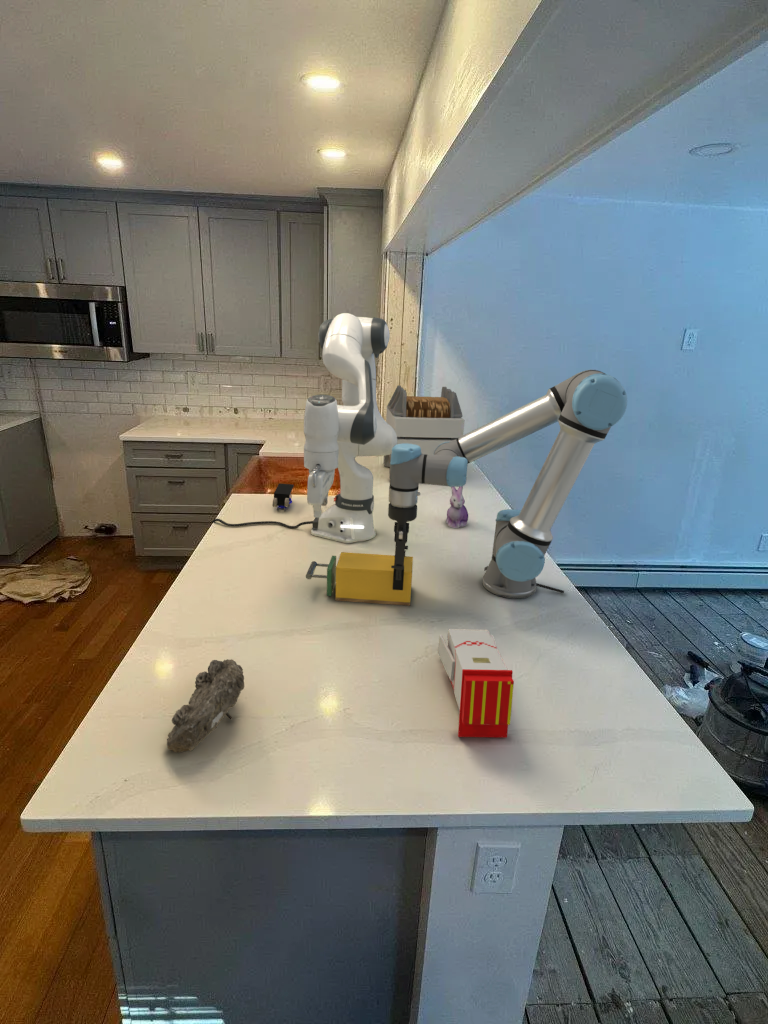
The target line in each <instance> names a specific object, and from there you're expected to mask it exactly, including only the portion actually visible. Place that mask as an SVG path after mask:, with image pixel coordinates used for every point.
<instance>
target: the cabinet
mask: <svg viewBox="0 0 768 1024" xmlns="http://www.w3.org/2000/svg"><path fill="white" fill-rule="evenodd" d="M413 560H414V557H413V556H410V555H409V556H408V555H407V556H406V555H405V556H404V579H403V590H393V573H394V568H391V566H394V562H395V554H394V555H392V554H378V553H361V552H347V551H346V552H345V551H341V552H340V554H339V558H338V561H337V562H336V583H335V601H338V602H350V603H366V604H380V605H381V604H382V605H394V606H408V607H409V606H411V596H412V583H413V582H412V580H413V566H414V565H413V563H414V561H413Z"/></svg>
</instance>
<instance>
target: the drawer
mask: <svg viewBox="0 0 768 1024" xmlns="http://www.w3.org/2000/svg"><path fill="white" fill-rule="evenodd" d="M336 566H337V555H331V557H330V560H329V563H318V562H317V561H316V560H312V562H311V563H310V564H309V567H308V569H307V571H306V574H305V578H306V579H307V580H311V579H312V578H313V579H314V578H315V579H326V596H329V597H331V596H332V595H333V592H334V589H335V587H336ZM317 567H322V568H323V567H325V568H326V574H325V575H324V574H314V573H315V571H316V569H317Z"/></svg>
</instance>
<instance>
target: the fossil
mask: <svg viewBox="0 0 768 1024" xmlns="http://www.w3.org/2000/svg"><path fill="white" fill-rule="evenodd" d="M243 670H244V669H243V667H242V665H240V664H237V662H236V661H235V660H234V659H232V658H231V659H227V658H226V659H224V660H223V661H222V660H217V659H212V660H211V661H210V663H209V665H208V666H207V671H201V672H199V673H198V674H197V675H196V676H195V680H194V684H195V685H194V687H195V689H194V690H193V693H192V694H191V697H190V698H189V700H188V704H184V705H182V706H181V707H180V709H177V710H176V711H175V713H174V715H173V716H172V718H171V723H172V724H173V727H172V730H171V731H170V732H168V734H167V738H166V741H167V742H166V745H167V749H168V750H169V751H173V752H174V753H176V754H178V753H182V752H188V751H189V752H192V751H193V750H195V748H196V747H197V746H199V744H200V743H201V742H203V741H204V740H205V739H206V738H207V737H208V736H209V735H210V734H211V733H212V732H214V730H215V729H217V727H218V726H219V724H220V722H221V721H222V720H223V719H224V718H225V716H226V717H227V719H229V720H233V717H232V715H230V714H229V710H230V709H231V708H234V706H235V704H236V703H237V702H238V699H239V697H240V695H241V693H242V691H243V690H245V689H244V688H245V675H244V671H243Z"/></svg>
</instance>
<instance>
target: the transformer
mask: <svg viewBox="0 0 768 1024" xmlns="http://www.w3.org/2000/svg"><path fill="white" fill-rule="evenodd" d="M440 393H441V394H440V396H415V395H414V396H413V395H412V396H411V395H407V394H408V393H407V390H406V389H404V388H403V387H402V385H399V384H398V385H397V386H396V388H395V390H394V392H393V394H392V395H391V398H390V400H389V402H388V404H387V405H386V413H385V414H386V415H385V421H386V422H387V423H388V424H389V425H390V426H391V427H392V428H393V429H394V430H395V432H396V435H397V444H403V443H408V444H415V445H418V446H420V448H421V452H422V454H427V455H433V454H434V451H435V449H436V448H437V447H438V446H439V445H440V444H442V443H444V442H451V441H453V440H455V439H457V438H459V437H461V436H463V435H464V431H465V430H464V429H465V419H464V418H463V411H462V408H461V405H460V402H459V398H458V395H457V392H455V391H453V390H452V389H451V388H447V386H442V387H441V392H440ZM391 454H392V453H391ZM391 454H390V455H385V456H383V466H384V467H388V468H390V462H391ZM388 476H389V477H388V478H389V479H390V474H389V475H388Z"/></svg>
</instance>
